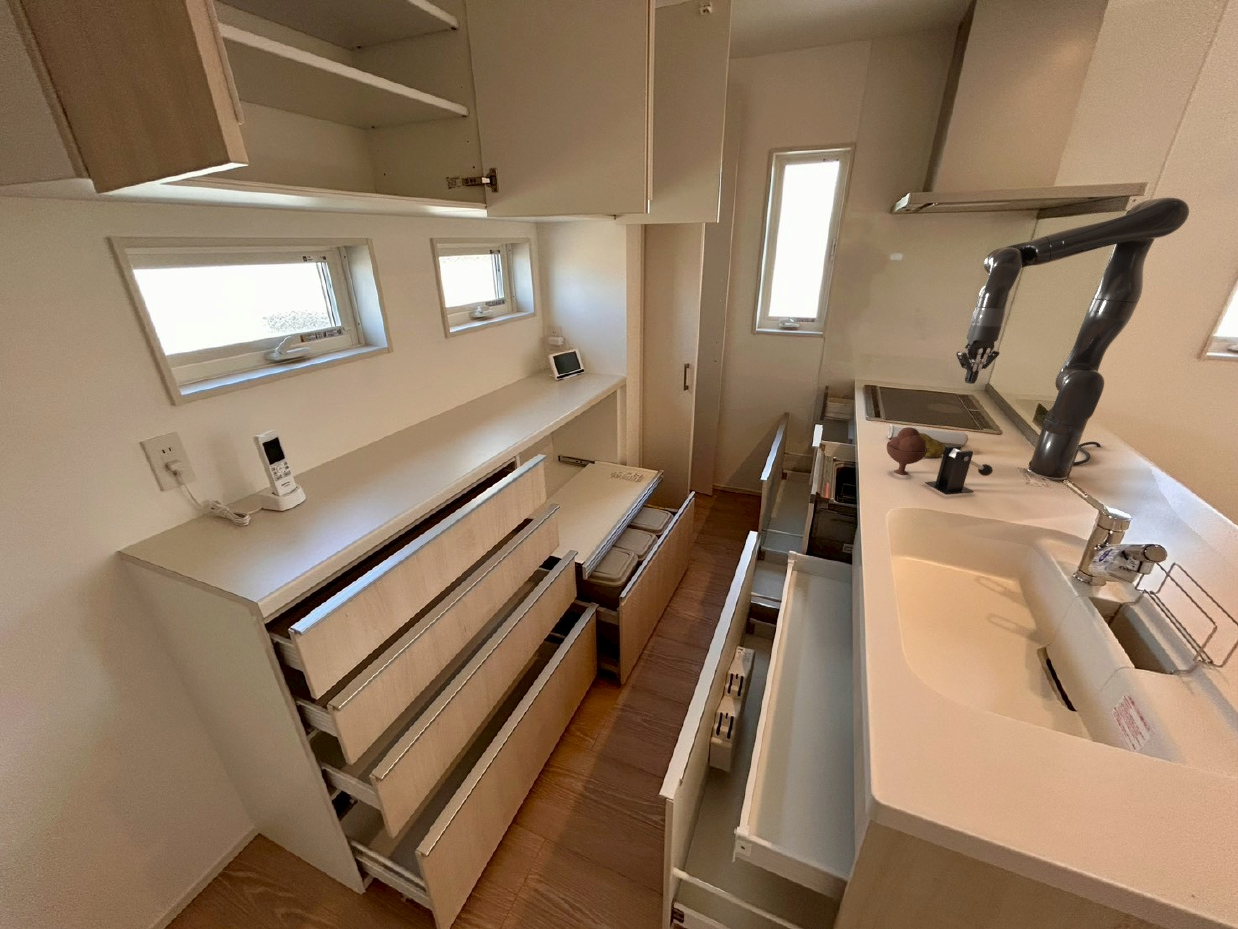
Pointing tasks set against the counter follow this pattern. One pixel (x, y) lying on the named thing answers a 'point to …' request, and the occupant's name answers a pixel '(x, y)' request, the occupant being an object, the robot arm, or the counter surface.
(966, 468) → the upright post with base
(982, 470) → the lever
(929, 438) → the pear
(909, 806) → the counter surface
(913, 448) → the ice cream bowl
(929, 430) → the tube
